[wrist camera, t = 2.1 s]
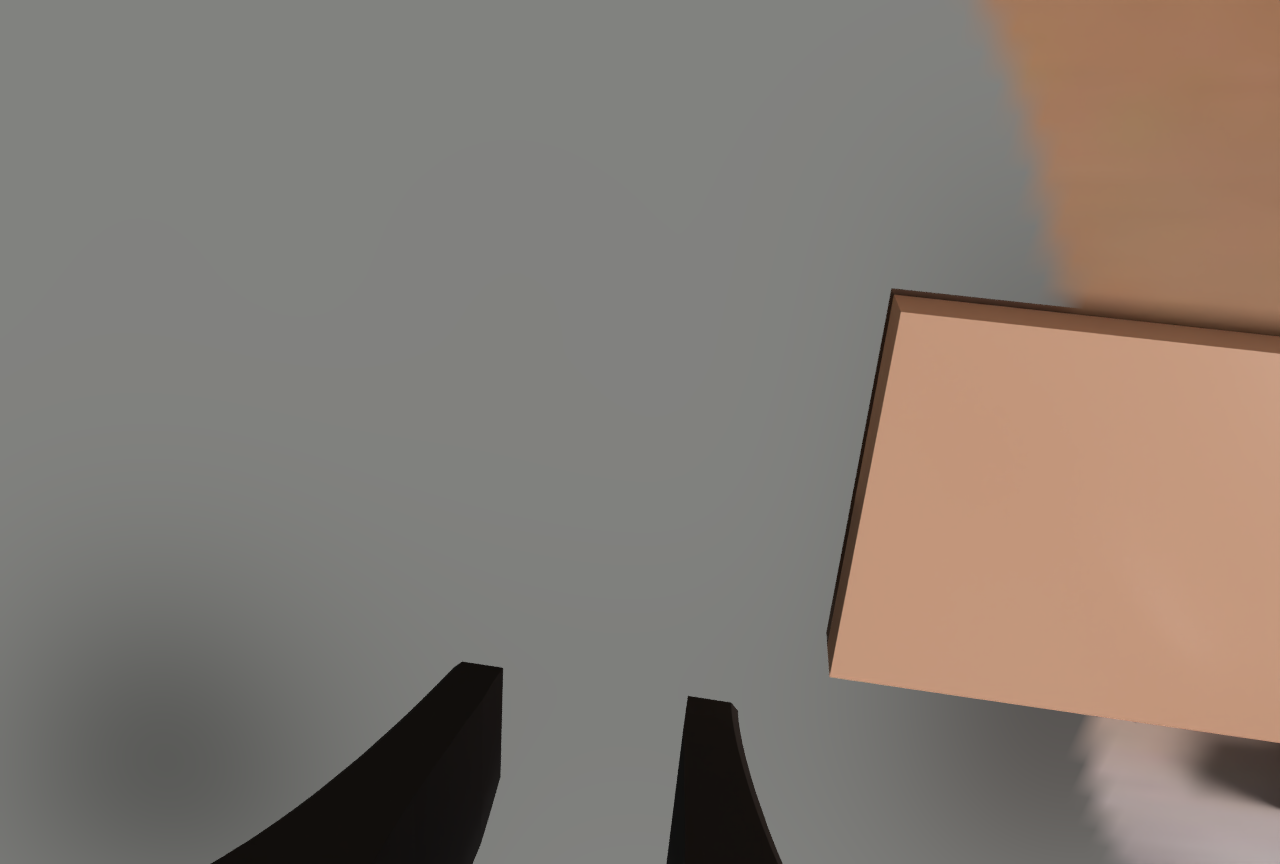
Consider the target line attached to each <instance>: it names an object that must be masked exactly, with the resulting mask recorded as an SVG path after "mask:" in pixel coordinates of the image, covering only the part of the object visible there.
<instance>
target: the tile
mask: <svg viewBox="0 0 1280 864" xmlns="http://www.w3.org/2000/svg"><path fill="white" fill-rule="evenodd" d="M826 635H827V649H828V662H829V675H830V677H833V678H840V679H847V680H854V681H861V682H867V683H874V684H881V685H888V686H894V687H901V688H908V689H915V690H922V691H928V692H935V693H942V694H949V695H956V696H963V697H970V698H977V699H984V700H990V701H997V702H1004V703H1010V704H1017V705H1024V706H1031V707H1038V708H1044V709H1051V710H1058V711H1065V712H1072V713H1079V714H1085V715H1092V716H1099V717H1106V718H1113V719H1120V720H1126V721H1133V722H1140V723H1147V724H1154V725H1161V726H1167V727H1174V728H1181V729H1188V730H1195V731H1201V732H1208V733H1215V734H1222V735H1229V736H1236V737H1242V738H1249V739H1256V740H1263V741H1270V742H1277V743H1280V336H1271V335H1262V334H1253V333H1244V332H1234V331H1225V330H1216V329H1207V328H1197V327H1188V326H1179V325H1170V324H1160V323H1151V322H1142V321H1133V320H1124V319H1114V318H1105V317H1096V316H1087V315H1077V314H1068V307H1061V306H1052V305H1043V304H1032V303H1023V302H1015V301H1006V300H995V299H986V298H978V297H968V296H959V295H950V294H941V293H932V292H922V291H913V290H903V289H895V288H892V289H891V293H890V299H889V304H888V309H887V314H886V320H885V325H884V330H883V335H882V341H881V346H880V351H879V356H878V362H877V367H876V372H875V378H874V383H873V388H872V393H871V399H870V404H869V410H868V415H867V420H866V425H865V431H864V436H863V441H862V447H861V452H860V457H859V462H858V468H857V473H856V478H855V483H854V489H853V494H852V499H851V505H850V510H849V515H848V521H847V526H846V531H845V536H844V542H843V547H842V553H841V558H840V563H839V568H838V573H837V578H836V584H835V589H834V595H833V600H832V605H831V610H830V615H829V621H828V627H827V632H826Z"/></svg>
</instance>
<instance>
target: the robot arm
mask: <svg viewBox="0 0 1280 864" xmlns="http://www.w3.org/2000/svg"><path fill="white" fill-rule="evenodd" d="M502 687H503V668H500V667H494V666H487V665H481V664H474V663H467V662H461V663H460V664H458V665H457V666H455V667H454V668H453V669H452V670H451V671H450V672H449V673H448V674H447V675H446V676H445V677H444V678H443V679H442V680H441V681H440V682H439V683H438V684H437V685H436V686H435V687H434V688H433V689H432V690H431V691H430V692H429V693H428V694H427V696H425V697H424V698H423V699H422V700H421V701H420V702H419V703H418V704H417V705H416V706H415V707H414V708H413V709H412V710H411V711H410V712H409V713H408V714H407V715H406V716H404V717H403V718H402V719H401V720H400V721H399V722H398V723H397V724H396V725H395V726H394V727H393V728H392V729H390V730H389V731H388V732H387V733H386V734H385V735H384V736H383V737H382V738H380V739H379V740H378V741H377V742H376V743H375V744H374V745H373V746H372V747H371V748H369V749H368V750H367V751H366V752H365V753H364V754H363V755H362V756H360V757H359V758H358V759H357V760H356V761H354V762H353V763H352V764H351V765H350V766H348V767H347V768H346V769H345V770H343V771H342V772H341V773H340V774H338V775H337V776H336V777H335V778H334V779H332V780H331V781H330V782H329V783H327V784H326V785H325V786H324V787H322V788H321V789H320V790H319V791H317V792H316V793H315V794H314V795H313V796H311V797H310V798H308V799H307V800H306V801H304V802H303V803H302V804H300V805H299V806H298V807H296V808H295V809H294V810H292V811H291V812H289V813H288V814H287V815H285V816H284V817H282V818H281V819H280V820H278V821H277V822H275V823H274V824H272V825H271V826H270V827H268V828H267V829H265V830H264V831H262V832H261V833H259V834H258V835H256V836H255V837H253V838H252V839H250V840H249V841H247V842H246V843H244V844H242V845H241V846H239V847H238V848H236V849H234V850H233V851H231V852H230V853H228V854H226V855H225V856H223V857H221V858H220V859H218V860H216V861H215V862H213V863H211V864H473V861H474V859H475V856H476V854H477V852H478V849H479V846H480V844H481V841H482V838H483V834H484V831H485V828H486V824H487V821H488V818H489V815H490V811H491V808H492V804H493V801H494V797H495V793H496V790H497V786H498V783H499V780H500V767H501V729H502V689H503V688H502ZM669 841H670V842H669V849H668V856H667V864H782V861H781V859H780V857H779V854H778V852H777V850H776V847H775V845H774V842H773V840H772V837H771V834H770V832H769V829H768V826H767V824H766V821H765V818H764V815H763V812H762V809H761V806H760V803H759V801H758V798H757V795H756V792H755V789H754V785H753V782H752V779H751V776H750V772H749V768H748V764H747V761H746V757H745V753H744V748H743V745H742V739H741V734H740V728H739V722H738V710H737V709H736V708H735V707H734V706H733V704H732V703H730V702H723V701H717V700H710V699H704V698H698V697H691V696H688V700H687V707H686V714H685V721H684V728H683V736H682V744H681V752H680V761H679V769H678V776H677V784H676V792H675V800H674V808H673V816H672V825H671V832H670V840H669Z"/></svg>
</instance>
